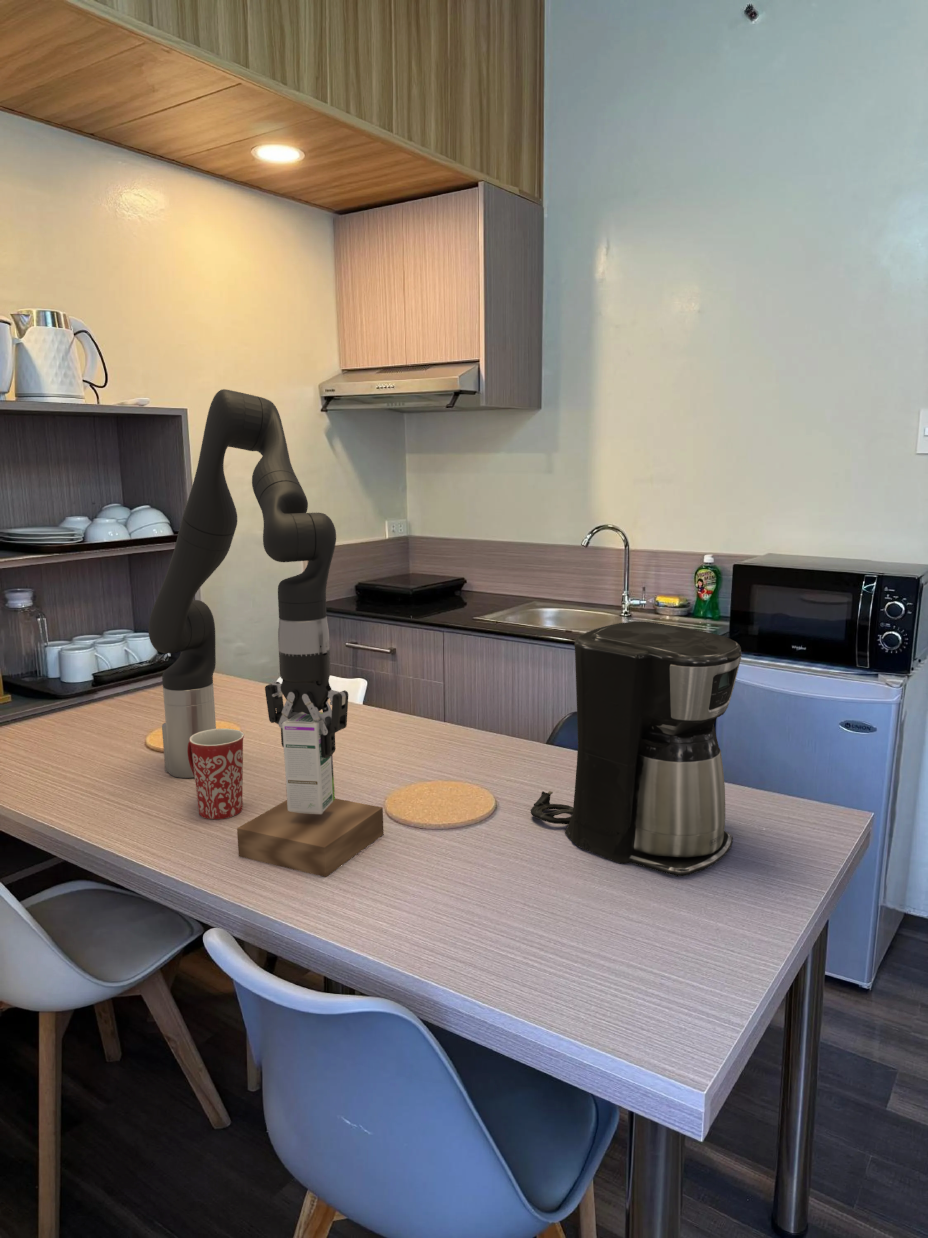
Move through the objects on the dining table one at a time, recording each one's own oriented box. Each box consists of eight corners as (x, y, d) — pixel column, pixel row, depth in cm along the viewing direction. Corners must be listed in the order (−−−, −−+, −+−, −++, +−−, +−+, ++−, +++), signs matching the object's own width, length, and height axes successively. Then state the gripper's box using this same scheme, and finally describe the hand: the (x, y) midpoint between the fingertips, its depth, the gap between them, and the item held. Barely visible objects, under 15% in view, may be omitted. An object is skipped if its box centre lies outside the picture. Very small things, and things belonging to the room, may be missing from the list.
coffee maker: (731, 887, 121) (743, 651, 115) (507, 858, 130) (506, 638, 124) (733, 823, 142) (742, 621, 136) (540, 802, 152) (541, 612, 145)
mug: (259, 810, 149) (254, 735, 147) (212, 826, 143) (207, 748, 140) (218, 792, 157) (214, 720, 155) (173, 807, 151) (167, 732, 148)
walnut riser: (238, 859, 132) (236, 828, 131) (302, 820, 146) (300, 792, 145) (325, 880, 125) (324, 847, 124) (383, 836, 139) (382, 807, 138)
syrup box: (322, 815, 131) (318, 723, 128) (285, 812, 132) (281, 721, 129) (335, 800, 136) (332, 712, 134) (300, 798, 138) (296, 710, 135)
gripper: (249, 647, 129) (255, 754, 132) (329, 656, 123) (333, 768, 126) (280, 638, 136) (285, 740, 139) (358, 646, 130) (361, 752, 133)
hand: (308, 753), depth 133 cm, fingers closed on syrup box, 6 cm apart
